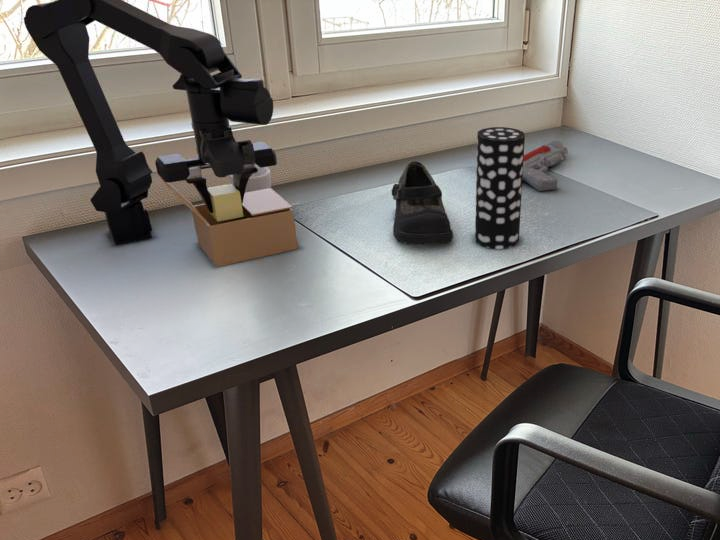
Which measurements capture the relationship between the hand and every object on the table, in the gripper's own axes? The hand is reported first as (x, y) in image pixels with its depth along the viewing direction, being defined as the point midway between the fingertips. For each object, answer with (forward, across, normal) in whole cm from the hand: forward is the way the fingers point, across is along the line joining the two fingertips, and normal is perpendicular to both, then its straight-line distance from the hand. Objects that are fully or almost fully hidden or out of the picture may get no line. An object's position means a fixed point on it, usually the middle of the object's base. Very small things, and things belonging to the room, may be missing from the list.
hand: (225, 209), depth 128 cm
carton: (+8, +3, 0) cm, 8 cm away
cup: (+8, +9, +16) cm, 20 cm away
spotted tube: (+8, +44, -21) cm, 49 cm away
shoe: (+8, +34, -9) cm, 36 cm away
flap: (-3, -7, 0) cm, 7 cm away
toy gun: (+8, +76, +5) cm, 76 cm away
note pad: (+1, 0, 0) cm, 1 cm away
